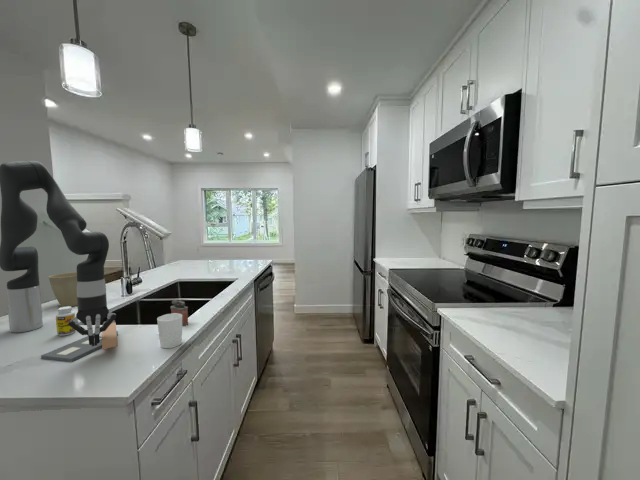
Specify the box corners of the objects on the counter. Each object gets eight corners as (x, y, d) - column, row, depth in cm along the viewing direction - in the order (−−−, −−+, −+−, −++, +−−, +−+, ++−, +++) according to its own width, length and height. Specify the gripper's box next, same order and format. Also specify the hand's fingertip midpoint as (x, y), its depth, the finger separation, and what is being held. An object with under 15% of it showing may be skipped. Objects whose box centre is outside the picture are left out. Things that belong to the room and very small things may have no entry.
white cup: (164, 340, 108) (163, 313, 107) (186, 339, 108) (185, 312, 108) (154, 349, 100) (152, 321, 99) (178, 349, 101) (177, 320, 100)
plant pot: (95, 300, 159) (93, 271, 157) (74, 309, 144) (72, 277, 142) (67, 301, 158) (64, 272, 156) (42, 310, 143) (39, 277, 142)
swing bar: (103, 331, 112) (102, 321, 111) (116, 329, 114) (115, 319, 114) (102, 352, 95) (101, 340, 95) (117, 349, 97) (116, 337, 97)
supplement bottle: (55, 337, 111) (53, 311, 110) (58, 332, 115) (56, 307, 114) (75, 334, 114) (73, 308, 113) (76, 329, 118) (75, 304, 117)
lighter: (190, 323, 124) (189, 300, 123) (184, 326, 121) (183, 302, 120) (175, 321, 127) (174, 298, 126) (169, 324, 123) (168, 301, 123)
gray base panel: (41, 358, 94) (41, 354, 94) (102, 332, 115) (102, 329, 115) (71, 361, 92) (71, 358, 92) (128, 334, 113) (128, 331, 113)
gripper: (64, 299, 88) (67, 355, 90) (117, 292, 97) (119, 343, 98) (65, 294, 94) (68, 346, 96) (115, 288, 103) (117, 336, 104)
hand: (94, 345), depth 97 cm, fingers closed
